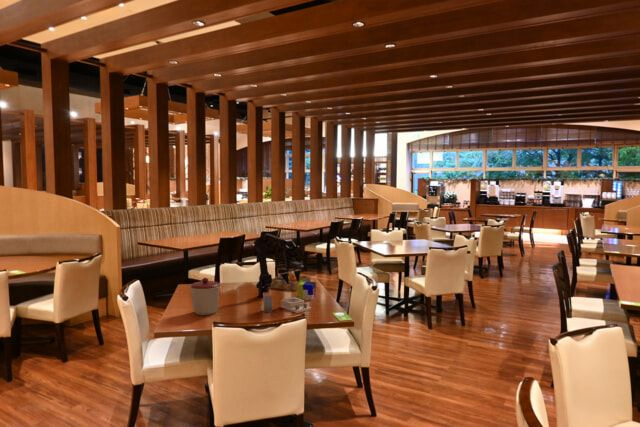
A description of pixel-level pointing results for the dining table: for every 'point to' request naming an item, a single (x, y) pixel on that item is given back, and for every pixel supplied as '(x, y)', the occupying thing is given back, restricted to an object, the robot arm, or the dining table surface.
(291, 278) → the toy bolts
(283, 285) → the bolt corral
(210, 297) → the canister
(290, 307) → the chassis
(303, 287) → the puzzle toy
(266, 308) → the grey tall block
